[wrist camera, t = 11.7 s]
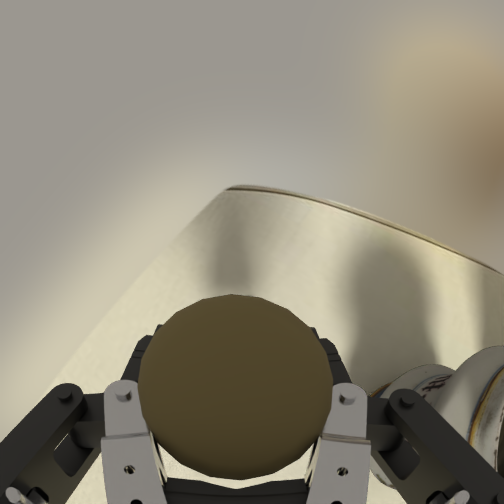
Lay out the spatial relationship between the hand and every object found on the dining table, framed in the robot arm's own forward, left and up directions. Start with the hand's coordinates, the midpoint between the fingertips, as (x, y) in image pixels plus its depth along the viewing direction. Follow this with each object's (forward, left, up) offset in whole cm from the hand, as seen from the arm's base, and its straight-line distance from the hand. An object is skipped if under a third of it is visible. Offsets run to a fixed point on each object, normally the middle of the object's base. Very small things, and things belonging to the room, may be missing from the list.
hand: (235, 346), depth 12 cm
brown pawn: (+1, +1, -5) cm, 6 cm away
